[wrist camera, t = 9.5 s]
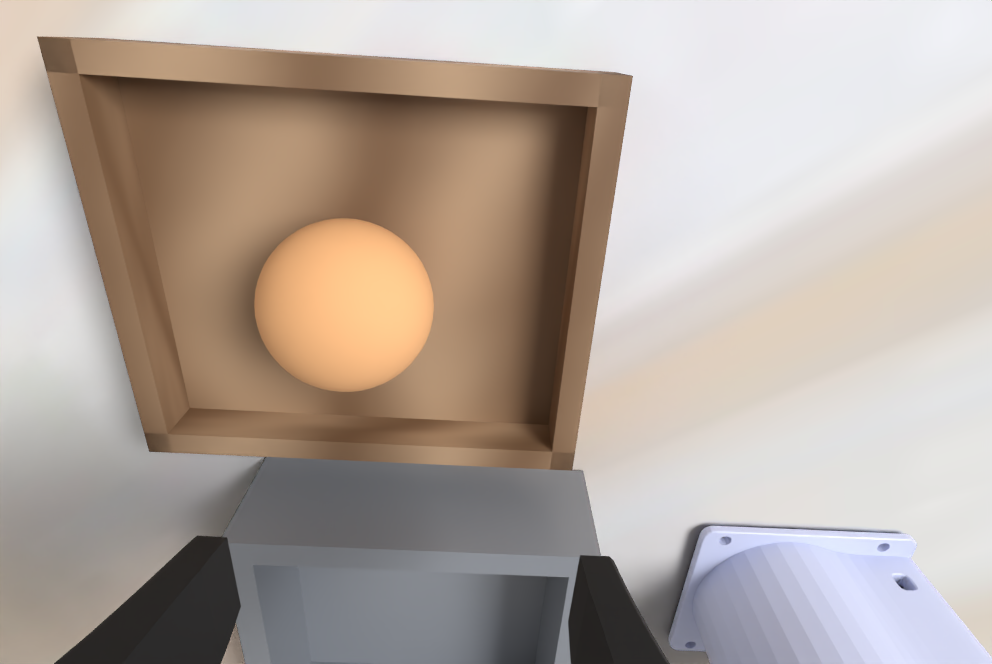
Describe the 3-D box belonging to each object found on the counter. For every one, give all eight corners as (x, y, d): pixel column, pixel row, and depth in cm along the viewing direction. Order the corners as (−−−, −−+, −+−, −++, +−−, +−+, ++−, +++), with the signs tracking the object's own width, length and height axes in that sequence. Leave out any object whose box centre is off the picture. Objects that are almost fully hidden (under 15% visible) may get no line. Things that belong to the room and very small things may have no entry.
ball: (441, 204, 18) (426, 256, 13) (438, 345, 20) (424, 430, 15) (279, 195, 17) (208, 245, 13) (295, 338, 20) (239, 423, 15)
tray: (614, 72, 17) (632, 76, 15) (564, 430, 23) (571, 470, 20) (97, 37, 16) (37, 36, 14) (182, 412, 22) (149, 451, 20)
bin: (583, 470, 23) (601, 558, 19) (550, 666, 29) (559, 765, 25) (266, 456, 23) (218, 542, 19) (297, 657, 29) (265, 756, 25)
